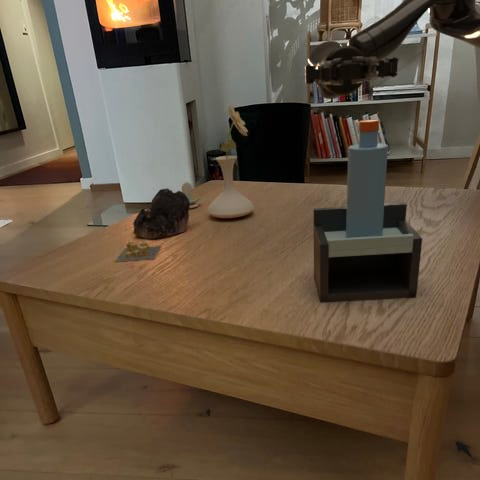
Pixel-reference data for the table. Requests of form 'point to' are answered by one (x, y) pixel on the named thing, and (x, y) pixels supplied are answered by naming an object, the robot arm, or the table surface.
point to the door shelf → (365, 257)
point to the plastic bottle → (366, 183)
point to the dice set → (138, 252)
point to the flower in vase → (230, 179)
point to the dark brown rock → (163, 215)
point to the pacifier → (189, 194)
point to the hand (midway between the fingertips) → (356, 71)
